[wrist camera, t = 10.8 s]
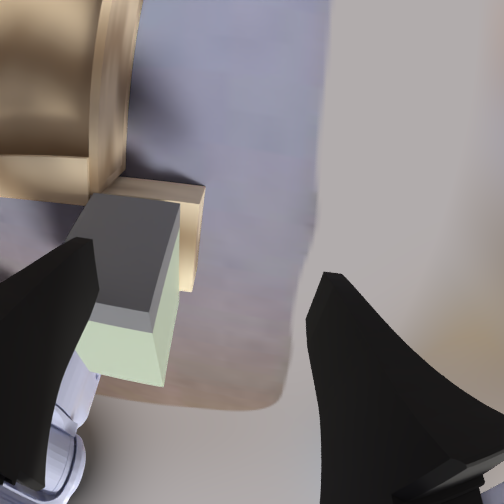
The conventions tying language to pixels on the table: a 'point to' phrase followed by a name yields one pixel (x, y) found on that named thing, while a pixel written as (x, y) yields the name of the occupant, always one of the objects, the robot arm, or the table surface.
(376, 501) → the robot arm
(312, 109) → the table surface
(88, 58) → the wooden tray
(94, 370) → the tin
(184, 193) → the oak stand
